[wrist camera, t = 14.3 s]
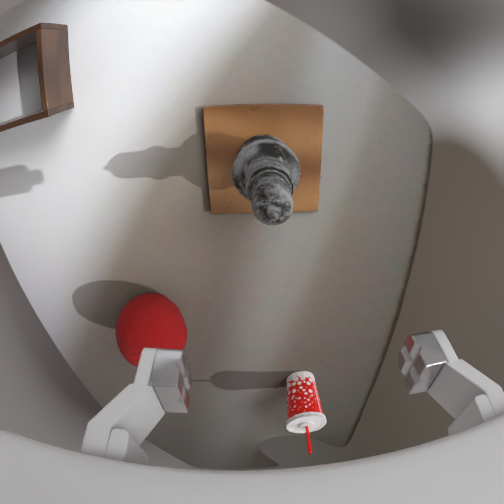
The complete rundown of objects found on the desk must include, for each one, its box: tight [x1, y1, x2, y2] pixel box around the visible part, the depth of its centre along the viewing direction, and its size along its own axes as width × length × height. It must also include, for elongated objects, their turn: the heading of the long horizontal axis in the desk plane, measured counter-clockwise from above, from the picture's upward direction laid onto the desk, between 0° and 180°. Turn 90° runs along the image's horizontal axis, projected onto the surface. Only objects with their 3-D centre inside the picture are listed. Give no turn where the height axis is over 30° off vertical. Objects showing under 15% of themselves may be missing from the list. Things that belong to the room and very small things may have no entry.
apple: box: [116, 293, 187, 367], centre depth 36 cm, size 9×9×10 cm
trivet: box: [203, 104, 323, 214], centre depth 30 cm, size 11×11×1 cm
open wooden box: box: [0, 23, 74, 132], centre depth 21 cm, size 9×14×5 cm, turn 91°
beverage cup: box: [286, 371, 327, 455], centre depth 44 cm, size 6×6×14 cm
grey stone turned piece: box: [232, 134, 300, 225], centre depth 25 cm, size 6×6×12 cm
